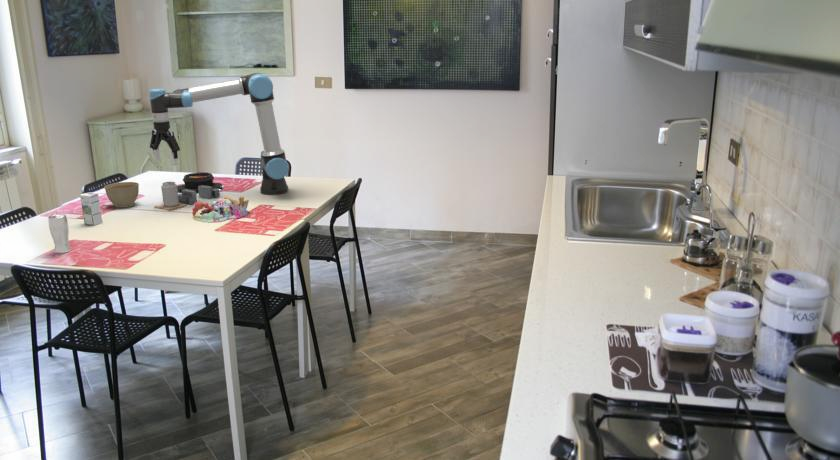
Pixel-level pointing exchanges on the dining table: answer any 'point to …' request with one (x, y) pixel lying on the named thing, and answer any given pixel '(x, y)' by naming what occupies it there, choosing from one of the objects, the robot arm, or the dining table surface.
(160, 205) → the mat
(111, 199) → the planter bowl
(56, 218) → the beer glass
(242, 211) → the candy landscape model
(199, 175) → the casserole
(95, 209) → the syrup box
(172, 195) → the can
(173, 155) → the robot arm
